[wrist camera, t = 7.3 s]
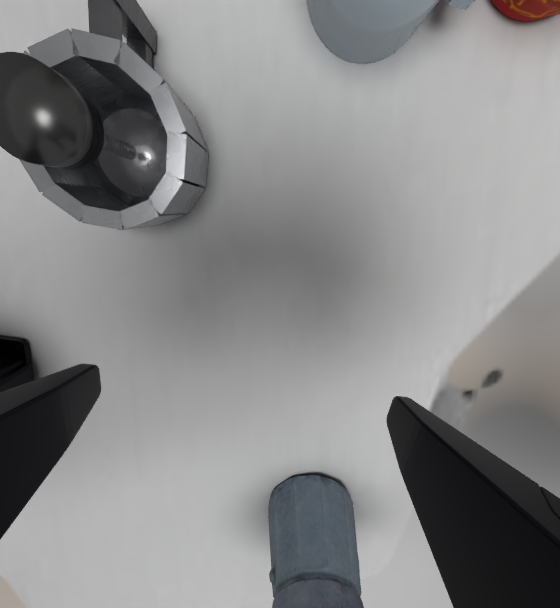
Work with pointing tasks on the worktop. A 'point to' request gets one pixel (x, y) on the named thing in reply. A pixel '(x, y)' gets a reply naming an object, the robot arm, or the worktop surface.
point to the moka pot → (313, 545)
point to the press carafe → (113, 97)
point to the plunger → (76, 127)
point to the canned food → (528, 8)
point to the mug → (369, 25)
